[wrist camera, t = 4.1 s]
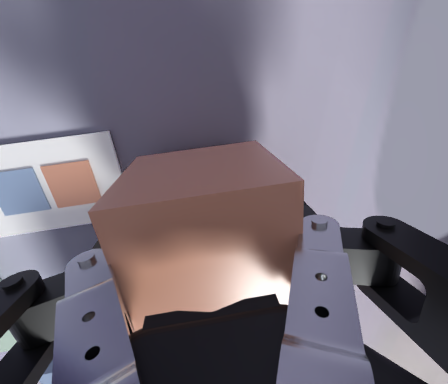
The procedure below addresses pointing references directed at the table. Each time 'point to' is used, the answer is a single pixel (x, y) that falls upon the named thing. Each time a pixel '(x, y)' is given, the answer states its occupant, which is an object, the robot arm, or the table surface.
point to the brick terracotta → (200, 229)
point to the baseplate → (7, 340)
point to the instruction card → (54, 181)
